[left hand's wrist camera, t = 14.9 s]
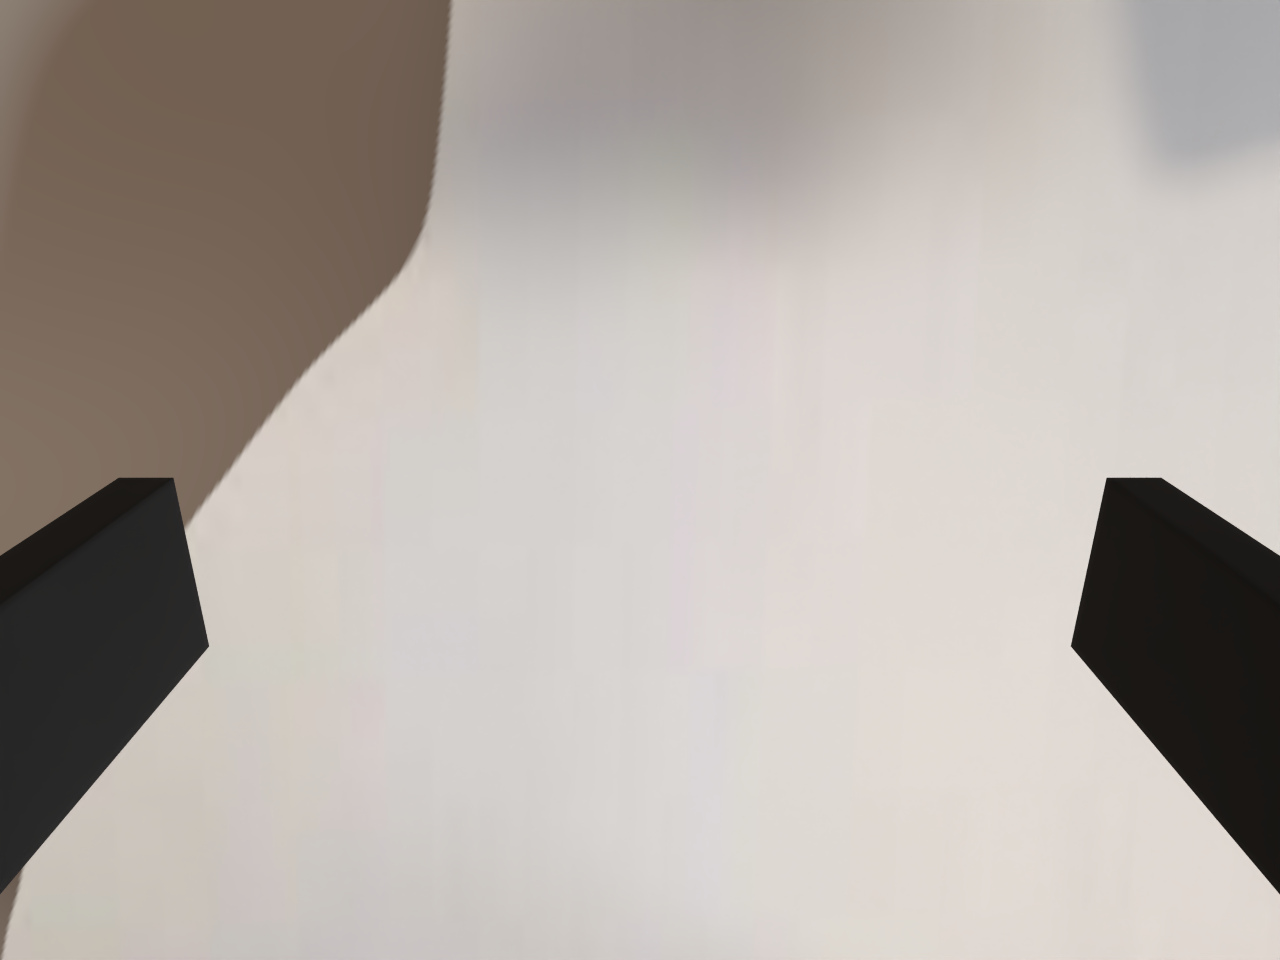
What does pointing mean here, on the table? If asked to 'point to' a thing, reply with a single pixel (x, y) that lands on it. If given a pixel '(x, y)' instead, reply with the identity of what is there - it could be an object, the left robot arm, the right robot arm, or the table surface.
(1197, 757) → the left robot arm
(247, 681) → the table surface
